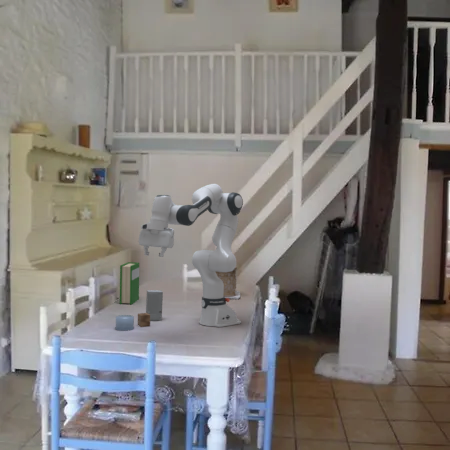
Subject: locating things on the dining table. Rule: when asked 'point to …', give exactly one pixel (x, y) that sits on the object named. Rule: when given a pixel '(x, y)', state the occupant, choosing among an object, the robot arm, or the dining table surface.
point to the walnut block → (144, 319)
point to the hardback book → (129, 282)
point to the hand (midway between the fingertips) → (153, 256)
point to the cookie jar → (229, 284)
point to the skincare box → (154, 304)
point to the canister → (124, 322)
